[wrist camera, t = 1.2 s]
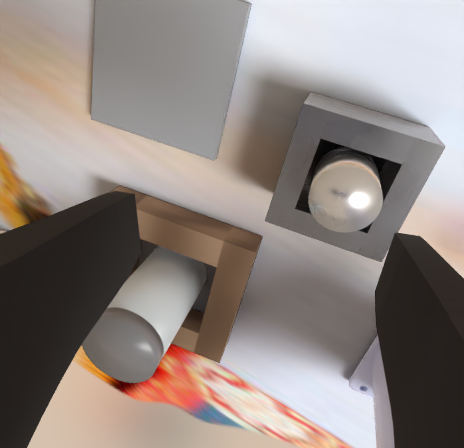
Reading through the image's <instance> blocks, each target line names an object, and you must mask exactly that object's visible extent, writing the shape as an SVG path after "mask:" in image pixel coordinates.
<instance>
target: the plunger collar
mask: <svg viewBox="0 0 464 448" xmlns="http://www.w3.org/2000/svg"><path fill="white" fill-rule="evenodd" d="M320 139H324V140H327V141H330V142H333V143H336V144H339V145H343V146H346V147H349V148H352V149H355V150H358V151H362V152H365V153H368V154H371V155H374V156H377V157H381V158H384V159H386V161H385V164H384V166H383V168H382V170H381V172H380V174H379V179H380V184H381V190H382V195H383V203H382V208H381V211H380V213H379V214H378V216H377V218H376V219H375V220H374V221H373V222H372V223H371V224H369V225H368V226H367V227H365V228H363V229H361V230H358V231H354V232H346V233H345V232H336V231H332V230H330V229H327V228H325V227H324V226H322V225H321V224H320V223H319V222H317V221H316V219H315V218H314V217H313V215H312V213H311V211H310V208H309V203H308V197H309V192H310V188H311V186H309V185H306V184H304V183H305V180H306V177H307V174H308V172H309V169H310V166H311V164H312V161H313V158H314V155H315V153H316V150H317V147H318V145H319V142H320ZM444 149H445V145H444V144H443V143H442V142H441V140H440V139H439V138H438V137H437V136H436V134H435V133H434V132H433V131H432V129H431V128H430V127H427V126H424V125H420V124H417V123H414V122H410V121H407V120H404V119H400V118H397V117H394V116H390V115H387V114H384V113H380V112H377V111H374V110H370V109H367V108H364V107H360V106H357V105H354V104H350V103H347V102H344V101H340V100H337V99H334V98H330V97H327V96H324V95H320V94H317V93H314V92H310V94H309V95H308V97H307V98H306V100H305V101H304V103H303V106H302V109H301V112H300V115H299V118H298V121H297V124H296V127H295V130H294V133H293V136H292V139H291V142H290V146H289V149H288V152H287V155H286V158H285V161H284V164H283V167H282V170H281V173H280V176H279V179H278V182H277V185H276V188H275V191H274V194H273V197H272V200H271V204H270V207H269V210H268V213H267V216H266V219H265V221H266V222H269V223H271V224H274V225H277V226H280V227H283V228H286V229H288V230H291V231H294V232H297V233H300V234H303V235H305V236H308V237H311V238H314V239H317V240H320V241H323V242H325V243H328V244H331V245H334V246H337V247H340V248H342V249H345V250H348V251H351V252H354V253H357V254H359V255H362V256H365V257H368V258H371V259H374V260H376V261H379V262H382V260H383V258H384V257H385V255H386V253H387V251H388V249H389V248H390V245H391V242H392V239H393V236H394V233H398V231H399V230H400V228H401V226H402V224H403V222H404V221H405V219H406V217H407V215H408V213H409V212H410V210H411V208H412V206H413V204H414V203H415V201H416V199H417V197H418V195H419V194H420V192H421V190H422V188H423V186H424V185H425V183H426V181H427V179H428V177H429V176H430V174H431V172H432V170H433V168H434V167H435V165H436V163H437V161H438V159H439V158H440V156H441V154H442V152H443V150H444Z"/></svg>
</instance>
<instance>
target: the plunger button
mask: <svg viewBox="0 0 464 448" xmlns="http://www.w3.org/2000/svg"><path fill="white" fill-rule="evenodd" d="M308 203H309V208H310V211H311V213H312V215H313V217H314V218H315V219H316V221H317V222H319V223H320V224H321V225H322V226H324V227H325V228H327V229H330V230H332V231H336V232H345V233H346V232H354V231H358V230H361V229H363V228H365V227H367V226H368V225H369V224H371V223H372V222H373V221H374V220H375V219H376V218H377V216H378V214H379V213H380V211H381V208H382V203H383V195H382V190H381V184H380V179H379V174H378V169H377V166H376V163H375V161H374V160H373V159H372V157H371V156H370V155H369V154H367V153H365V152H362V151H358V150H355V149H352V148H349V147H341V148H337V149H334V150H332V151H330V152H328V153H327V154H325V155H324V156H323V157H322V158H321V160H320V161H319V162H318V164H317V166H316V169H315V172H314V176H313V180H312V184H311V188H310V192H309V197H308Z"/></svg>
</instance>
